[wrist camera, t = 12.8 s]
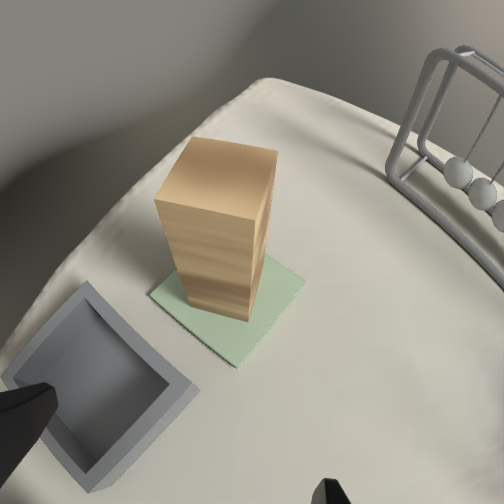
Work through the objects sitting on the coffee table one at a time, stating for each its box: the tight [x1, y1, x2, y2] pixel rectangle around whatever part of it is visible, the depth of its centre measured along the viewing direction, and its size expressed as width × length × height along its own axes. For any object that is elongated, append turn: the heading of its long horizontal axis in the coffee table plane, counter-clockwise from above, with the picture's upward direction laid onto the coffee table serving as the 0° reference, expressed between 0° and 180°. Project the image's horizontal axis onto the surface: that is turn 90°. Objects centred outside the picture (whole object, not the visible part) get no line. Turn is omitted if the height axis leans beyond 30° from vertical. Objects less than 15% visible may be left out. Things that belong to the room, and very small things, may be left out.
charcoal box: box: [1, 280, 200, 493], centre depth 19 cm, size 11×11×4 cm
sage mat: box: [150, 253, 306, 368], centre depth 25 cm, size 9×9×1 cm
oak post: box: [154, 137, 278, 322], centre depth 20 cm, size 5×5×12 cm
